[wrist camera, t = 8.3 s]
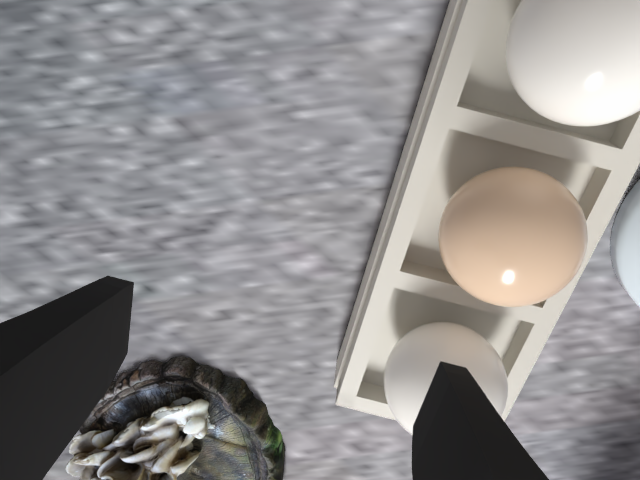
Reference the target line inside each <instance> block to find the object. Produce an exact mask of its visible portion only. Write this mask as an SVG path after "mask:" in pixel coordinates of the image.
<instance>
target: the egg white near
mask: <svg viewBox="0 0 640 480" xmlns="http://www.w3.org/2000/svg"><path fill="white" fill-rule="evenodd" d="M506 65H507V69H508V74H509V77H510V79H511V82H512V84H513V86H514V88H515V90H516V92H517V93H518V94H519V96H520V97H521V98H522V100H523V101H524V102H525V103H526V104H527V105H528V106H529V107H530V108H531V109H532V110H534V111H535V112H537V113H538V114H540V115H541V116H543V117H545V118H547V119H549V120H552V121H555V122H558V123H561V124H565V125H570V126H598V125H603V124H608V123H612V122H615V121H618V120H621V119H624V118H626V117H628V116H631V115H633V114H635V113H636V112H638V111H640V0H522V1H521V2H520V4H519V6H518V7H517V9H516V11H515V13H514V16H513V18H512V20H511V23H510V26H509V30H508V34H507V40H506Z"/></svg>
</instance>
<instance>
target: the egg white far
mask: <svg viewBox="0 0 640 480" xmlns="http://www.w3.org/2000/svg"><path fill="white" fill-rule="evenodd" d="M440 361H442V362H446V363H450V364H454V365H458V366H462V367H466V368H467V369H468V371H469V372H470V373H471V375H472V376H473V377H474V379H475V380H476V382H477V383H478V385H479V386H480V388H481V389H482V390H483V392H484V393H485V395H486V396H487V398H488V399H489V401H490V402H491V403H492V405H493V406H494V408H495V409H496V411H497V412H498V414H499V415H500V416H502V414H503V411H504V409H505V406H506V402H507V397H508V380H507V375H506V371H505V367H504V365H503V362H502V360H501V358H500V356H499V354H498V353H497V351H496V350H495V349H494V347H493V346H492V345H491V344H490V343H489V342H488V341H487V340H486V339H485V338H484V337H483V336H482V335H480V334H479V333H477V332H476V331H474V330H472V329H470V328H468V327H466V326H464V325H460V324H457V323H452V322H433V323H428V324H424V325H421V326H418V327H416V328H414V329H412V330H411V331H409V332H408V333H406V334H405V335H404V336H403V337H402V338H401V339H400V340H399V341H398V342H397V343H396V344H395V346H394V347H393V349H392V351H391V352H390V354H389V356H388V359H387V362H386V365H385V369H384V379H383V382H384V392H385V397H386V400H387V403H388V406H389V408H390V410H391V412H392V414H393V415H394V417H395V419H396V420H397V421H398V422H399V424H400V425H401V426H402V427H403V428H404V429H405V430H406V431H407V432H409V433H410V434H411V435H413V425H414V422H415V420H416V418H417V415H418V413H419V410H420V408H421V406H422V403H423V401H424V399H425V396H426V394H427V392H428V389H429V387H430V384H431V382H432V380H433V377H434V375H435V373H436V370H437V368H438V366H439V363H440Z"/></svg>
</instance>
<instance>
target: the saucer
mask: <svg viewBox="0 0 640 480" xmlns="http://www.w3.org/2000/svg"><path fill="white" fill-rule="evenodd" d="M610 255H611V261H612V266H613V269H614V272H615V275H616V277H617V279H618V280H619V282H620V284H621V286H622V287H623V288H624V289H625V291H626V292H627V293H628V294H629V296H630V297H631V298H632V299H633V300H634V302H635V303H636V304H637V305H638V306H639V307H640V179H639V180H638V181H637V183H636V184H635V185H634V186H633V188H632V189H631V190H630V192H629V193H628V195H627V196H626V198H625V200H624V201H623V203H622V204H621V207H620V209H619V211H618V213H617V216H616V218H615V221H614V225H613V228H612V233H611V240H610Z"/></svg>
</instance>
